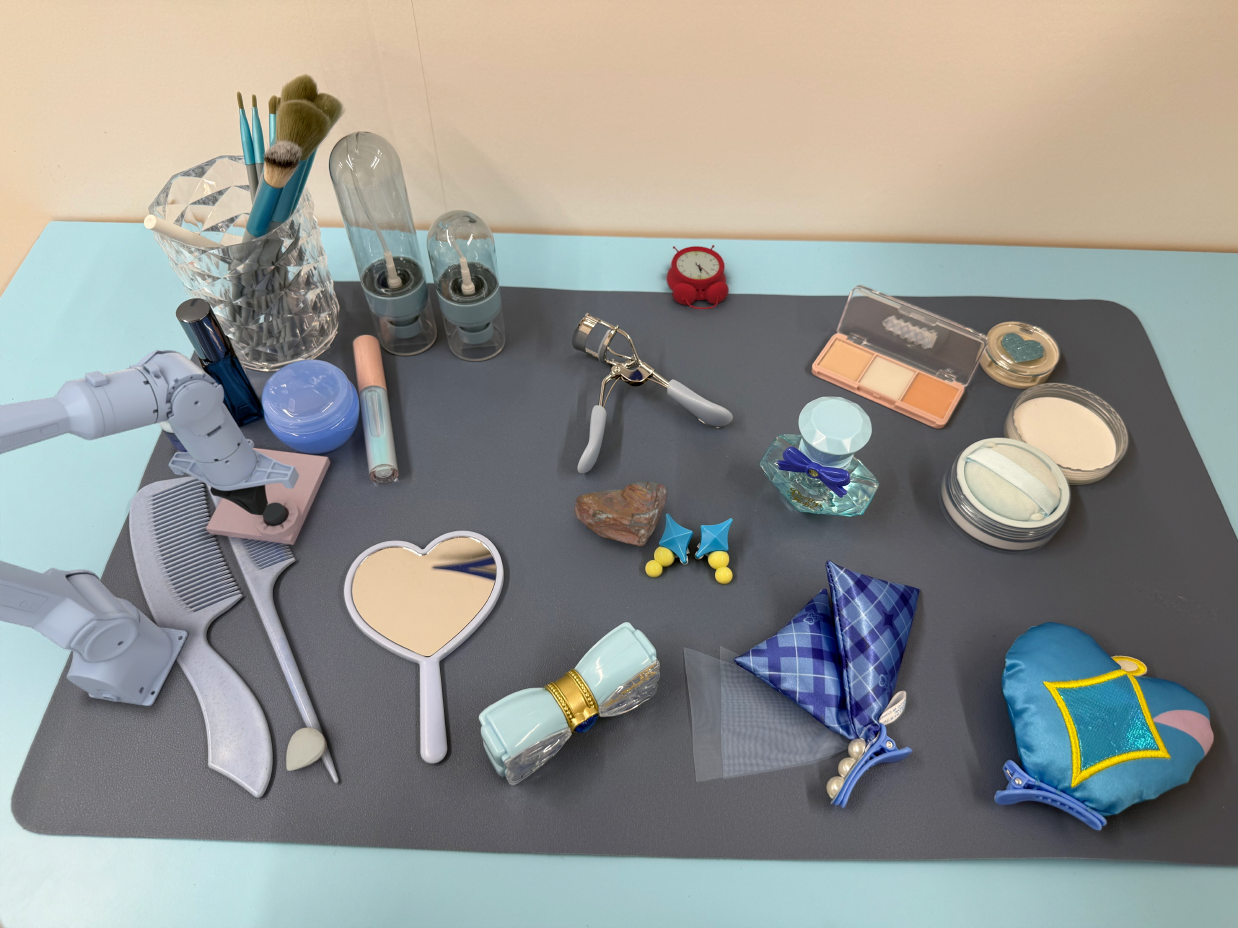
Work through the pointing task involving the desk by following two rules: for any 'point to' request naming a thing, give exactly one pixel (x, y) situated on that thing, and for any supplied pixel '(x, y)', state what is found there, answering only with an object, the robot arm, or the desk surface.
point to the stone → (623, 511)
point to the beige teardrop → (305, 748)
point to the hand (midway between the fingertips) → (259, 508)
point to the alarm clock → (697, 276)
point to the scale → (295, 501)
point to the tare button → (275, 514)
